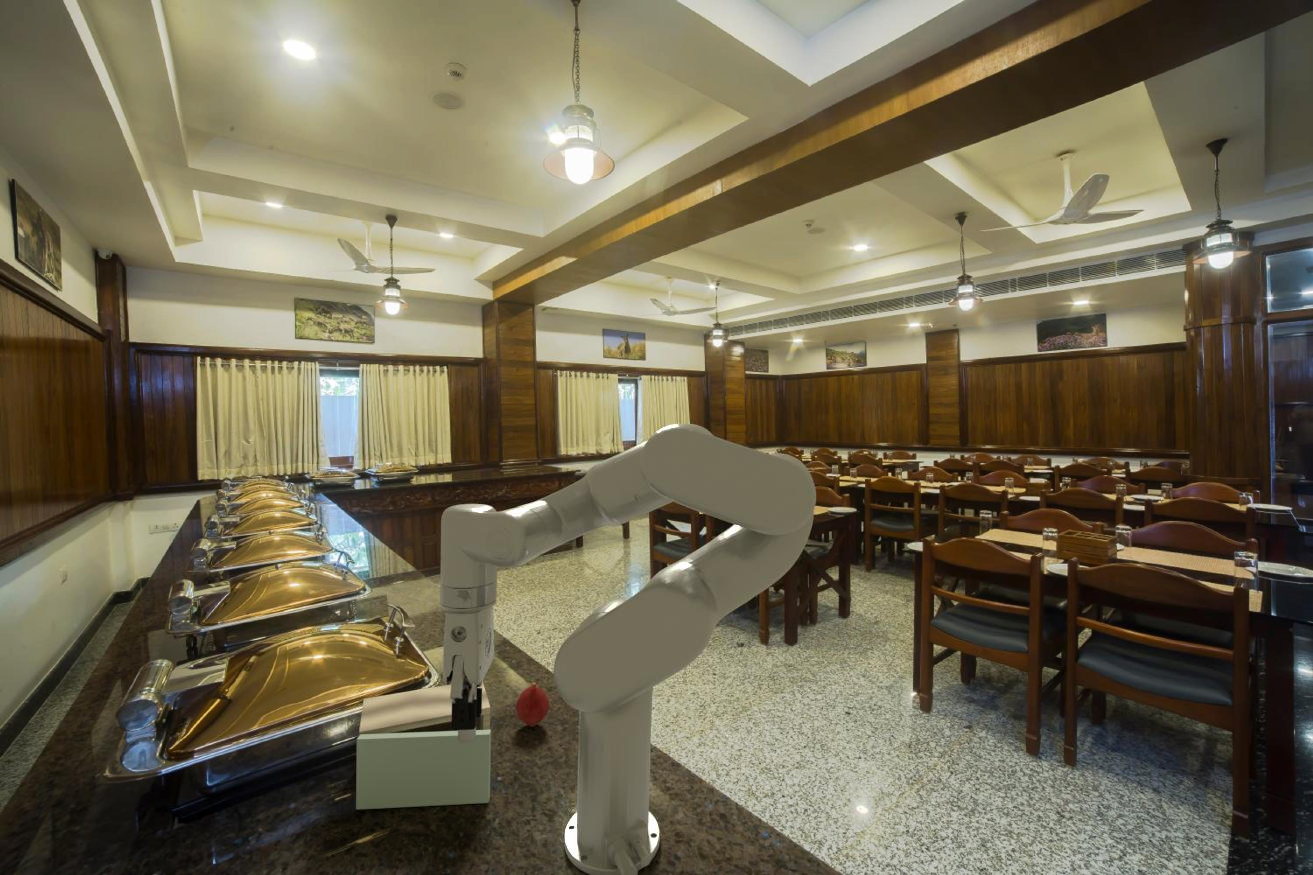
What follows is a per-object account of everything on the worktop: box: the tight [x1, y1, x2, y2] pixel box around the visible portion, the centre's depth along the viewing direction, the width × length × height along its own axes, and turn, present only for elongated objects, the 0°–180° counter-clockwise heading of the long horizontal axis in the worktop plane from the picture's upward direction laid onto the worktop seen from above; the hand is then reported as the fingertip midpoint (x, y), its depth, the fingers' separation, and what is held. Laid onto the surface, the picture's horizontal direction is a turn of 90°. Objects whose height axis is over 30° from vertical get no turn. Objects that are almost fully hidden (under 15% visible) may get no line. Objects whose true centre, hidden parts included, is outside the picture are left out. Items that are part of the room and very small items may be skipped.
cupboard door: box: [355, 685, 492, 811], centre depth 77 cm, size 3×18×18 cm, turn 96°
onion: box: [515, 682, 550, 728], centre depth 99 cm, size 6×6×8 cm
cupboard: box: [358, 680, 491, 737], centre depth 86 cm, size 10×18×10 cm, turn 115°
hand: (466, 721), depth 77 cm, fingers closed on cupboard door, 2 cm apart
